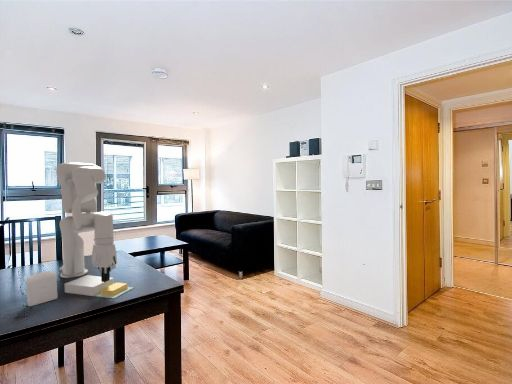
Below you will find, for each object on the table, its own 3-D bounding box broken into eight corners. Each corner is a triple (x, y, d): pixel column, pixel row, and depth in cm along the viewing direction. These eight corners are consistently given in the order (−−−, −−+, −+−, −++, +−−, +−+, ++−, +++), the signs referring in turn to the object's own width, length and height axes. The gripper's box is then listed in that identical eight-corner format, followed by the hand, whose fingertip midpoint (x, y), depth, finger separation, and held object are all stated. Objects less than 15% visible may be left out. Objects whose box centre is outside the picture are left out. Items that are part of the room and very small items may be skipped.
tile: (112, 290, 124) (112, 295, 124) (127, 283, 133) (127, 287, 133) (101, 289, 126) (101, 294, 126) (116, 282, 134) (116, 286, 134)
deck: (64, 292, 129) (64, 283, 129) (87, 283, 141) (86, 275, 140) (93, 296, 125) (93, 287, 124) (114, 286, 136) (113, 277, 136)
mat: (94, 296, 125) (93, 295, 125) (114, 286, 136) (114, 285, 136) (114, 298, 122) (114, 297, 122) (133, 288, 133) (133, 287, 133)
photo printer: (28, 307, 114) (27, 277, 114) (26, 304, 117) (24, 274, 116) (59, 299, 122) (57, 270, 121) (55, 296, 125) (54, 268, 124)
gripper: (84, 242, 128) (85, 282, 128) (111, 243, 123) (113, 285, 124) (97, 238, 135) (98, 276, 136) (124, 240, 131) (125, 279, 132)
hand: (105, 280), depth 130 cm, fingers closed
